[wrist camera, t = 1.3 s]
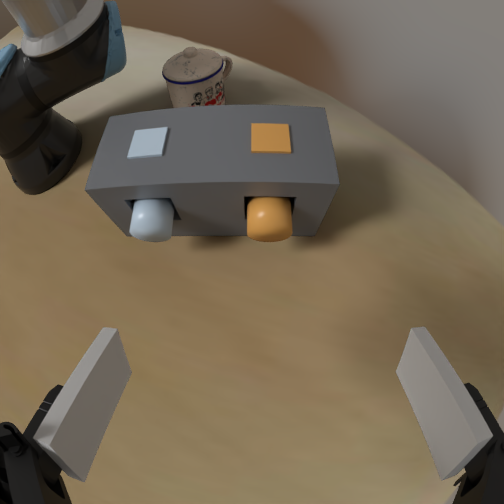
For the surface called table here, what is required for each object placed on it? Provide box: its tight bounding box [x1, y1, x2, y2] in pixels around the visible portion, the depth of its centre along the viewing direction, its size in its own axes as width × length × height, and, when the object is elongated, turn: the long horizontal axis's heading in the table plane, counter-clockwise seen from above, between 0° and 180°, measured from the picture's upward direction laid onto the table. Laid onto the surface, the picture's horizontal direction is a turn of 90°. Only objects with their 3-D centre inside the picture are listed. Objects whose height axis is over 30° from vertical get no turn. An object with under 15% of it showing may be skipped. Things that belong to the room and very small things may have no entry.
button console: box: [85, 105, 340, 236], centre depth 32 cm, size 10×24×12 cm, turn 90°
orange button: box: [247, 196, 293, 242], centre depth 29 cm, size 4×4×4 cm
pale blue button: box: [129, 198, 175, 242], centre depth 29 cm, size 4×4×4 cm
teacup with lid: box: [162, 47, 232, 108], centre depth 39 cm, size 12×9×12 cm
